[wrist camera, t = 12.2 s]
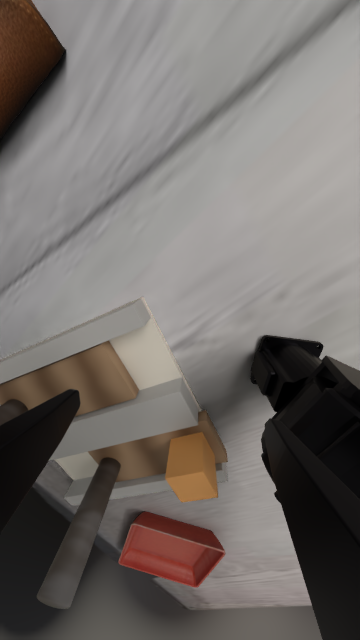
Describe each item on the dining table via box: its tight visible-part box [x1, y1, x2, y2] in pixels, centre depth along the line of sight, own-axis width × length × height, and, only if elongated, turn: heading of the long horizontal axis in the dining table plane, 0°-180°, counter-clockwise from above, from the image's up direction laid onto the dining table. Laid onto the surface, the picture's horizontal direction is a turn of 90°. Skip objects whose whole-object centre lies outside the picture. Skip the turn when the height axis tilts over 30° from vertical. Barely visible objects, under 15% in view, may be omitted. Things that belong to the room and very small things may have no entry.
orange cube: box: [165, 432, 218, 502], centre depth 22 cm, size 4×4×4 cm
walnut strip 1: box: [0, 340, 139, 425], centre depth 18 cm, size 19×8×13 cm, turn 114°
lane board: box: [0, 297, 228, 506], centre depth 25 cm, size 28×27×3 cm
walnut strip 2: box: [37, 410, 228, 609], centre depth 21 cm, size 19×8×13 cm, turn 114°
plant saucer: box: [119, 512, 225, 587], centre depth 37 cm, size 18×18×3 cm
